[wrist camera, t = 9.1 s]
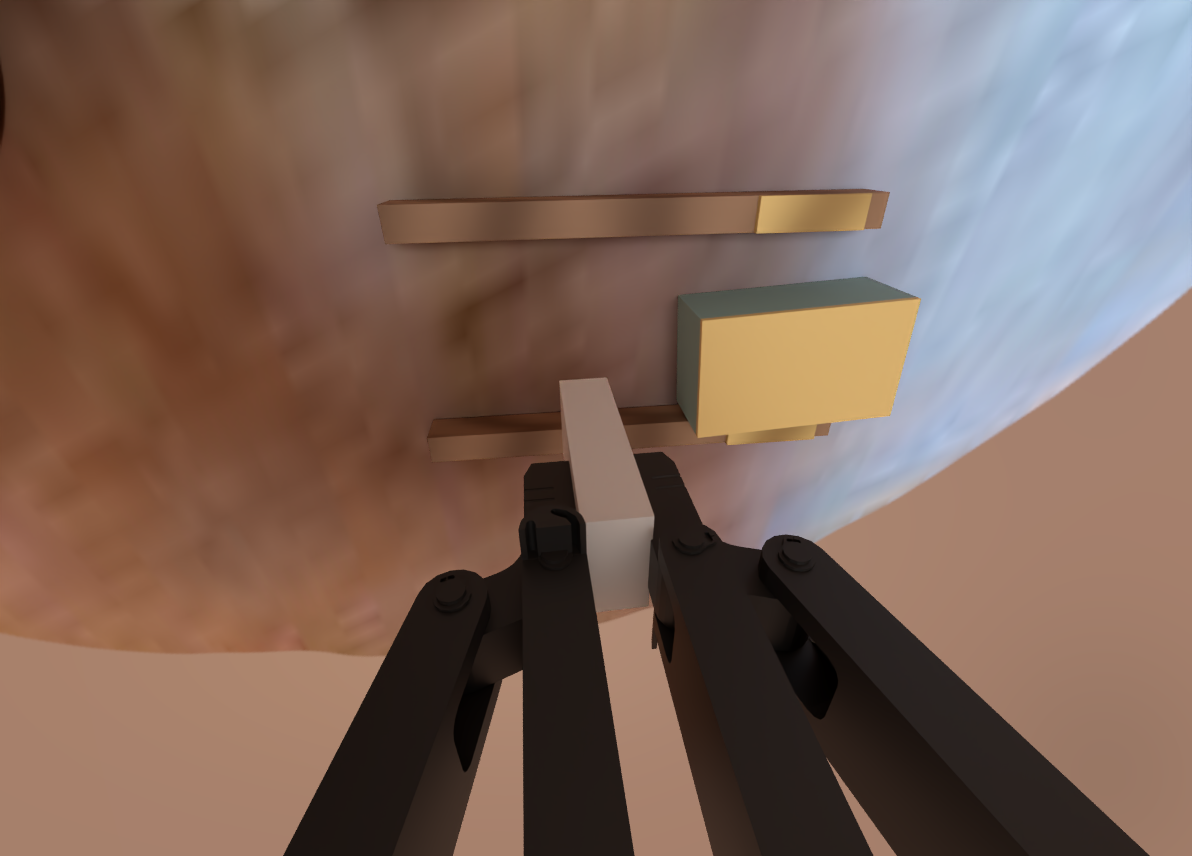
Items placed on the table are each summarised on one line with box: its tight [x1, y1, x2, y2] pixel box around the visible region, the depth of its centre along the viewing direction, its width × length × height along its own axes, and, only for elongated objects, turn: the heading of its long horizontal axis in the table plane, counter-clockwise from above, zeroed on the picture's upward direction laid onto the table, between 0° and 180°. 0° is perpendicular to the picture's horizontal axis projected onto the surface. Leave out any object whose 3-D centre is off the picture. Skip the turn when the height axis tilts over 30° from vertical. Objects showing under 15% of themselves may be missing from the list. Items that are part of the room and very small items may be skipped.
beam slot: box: [377, 189, 890, 463], centre depth 25 cm, size 22×12×2 cm, turn 91°
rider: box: [676, 277, 921, 438], centre depth 25 cm, size 10×6×4 cm, turn 94°
